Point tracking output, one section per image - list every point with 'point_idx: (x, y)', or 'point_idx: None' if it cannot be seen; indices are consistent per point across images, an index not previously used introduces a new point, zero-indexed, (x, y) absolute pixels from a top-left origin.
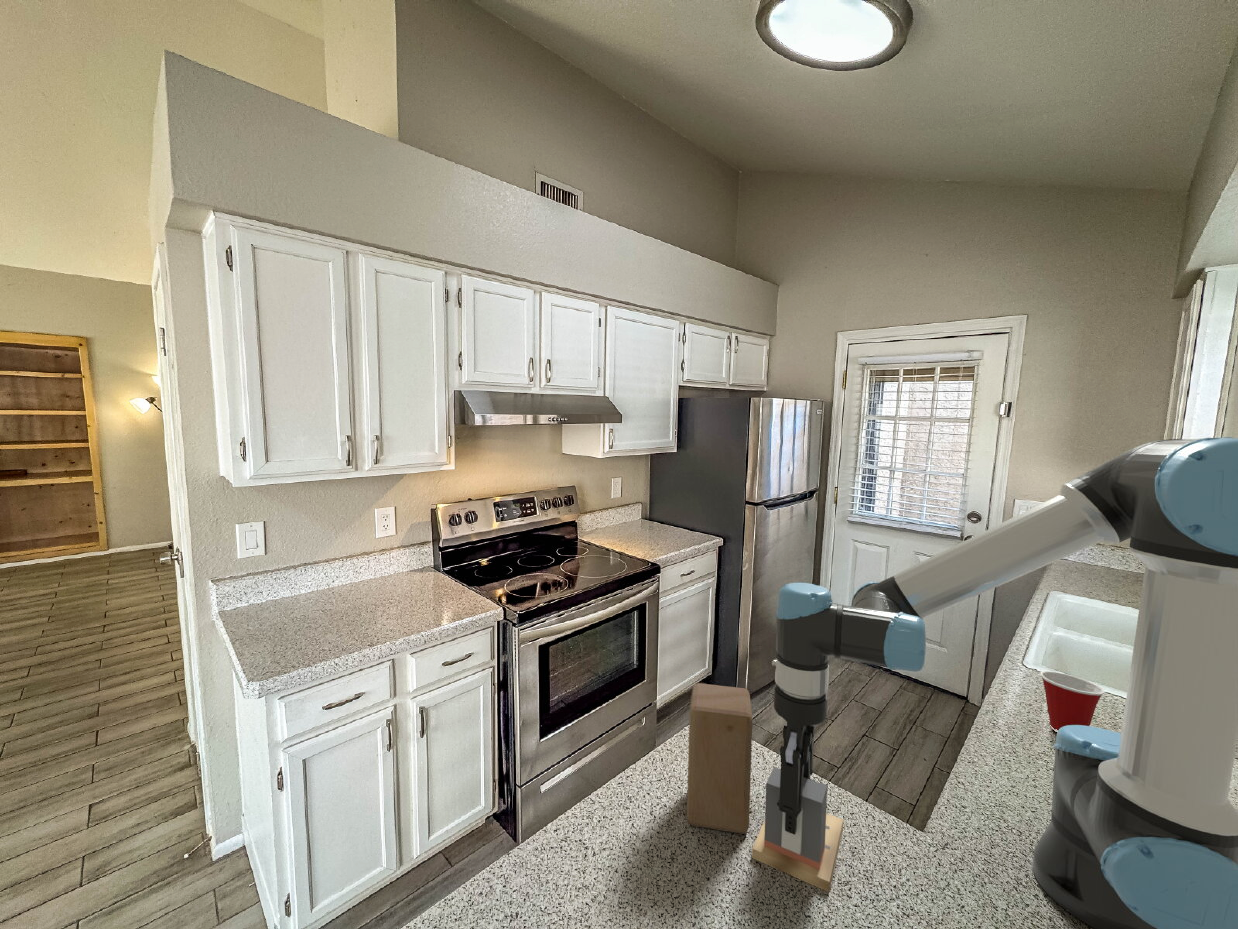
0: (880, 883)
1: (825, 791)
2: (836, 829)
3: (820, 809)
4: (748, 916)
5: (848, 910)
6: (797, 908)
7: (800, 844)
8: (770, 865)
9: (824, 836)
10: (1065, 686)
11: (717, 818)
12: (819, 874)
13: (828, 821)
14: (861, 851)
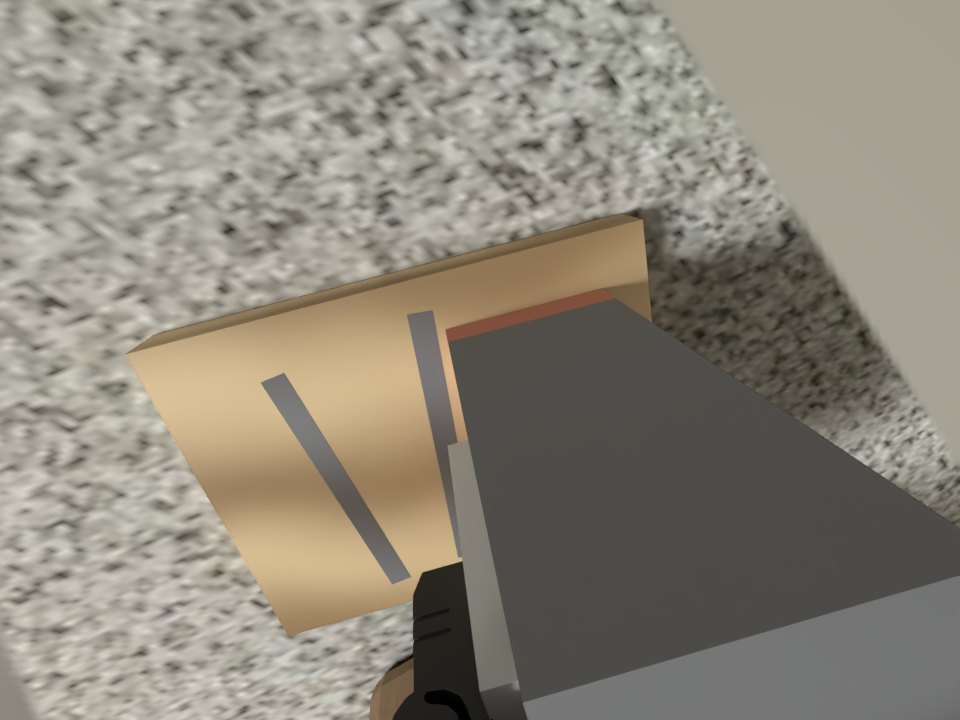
0: (370, 17)
1: (693, 652)
2: (244, 347)
3: (904, 504)
4: (891, 381)
5: (661, 101)
6: (774, 277)
7: None
8: None
9: (486, 356)
10: None
11: None
12: (627, 276)
13: (224, 403)
14: (225, 193)
